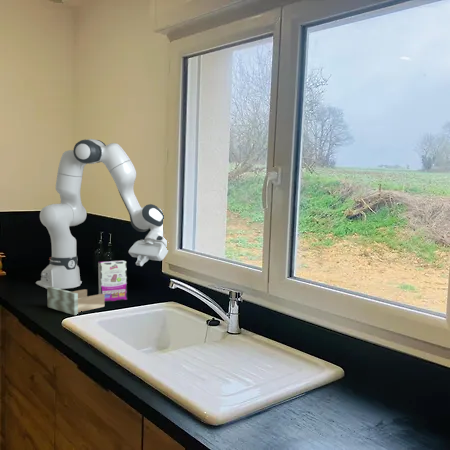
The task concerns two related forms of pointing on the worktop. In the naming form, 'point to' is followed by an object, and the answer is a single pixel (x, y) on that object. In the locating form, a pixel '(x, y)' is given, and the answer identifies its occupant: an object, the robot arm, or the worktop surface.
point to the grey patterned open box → (73, 300)
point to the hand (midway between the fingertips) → (138, 265)
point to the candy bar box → (113, 280)
